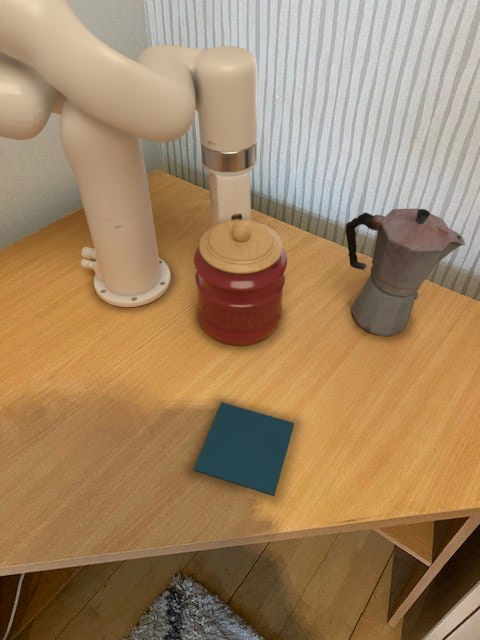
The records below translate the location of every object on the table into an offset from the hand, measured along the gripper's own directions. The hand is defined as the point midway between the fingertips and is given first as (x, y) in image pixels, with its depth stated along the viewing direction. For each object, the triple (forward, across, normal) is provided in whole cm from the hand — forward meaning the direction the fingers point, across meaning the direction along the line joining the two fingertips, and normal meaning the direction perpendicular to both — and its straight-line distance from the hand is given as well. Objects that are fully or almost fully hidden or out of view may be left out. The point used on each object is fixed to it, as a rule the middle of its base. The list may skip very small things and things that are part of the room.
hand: (233, 257), depth 78 cm
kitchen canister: (+5, +9, -1) cm, 10 cm away
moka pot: (+5, +13, +21) cm, 25 cm away
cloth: (+4, +31, -4) cm, 32 cm away
